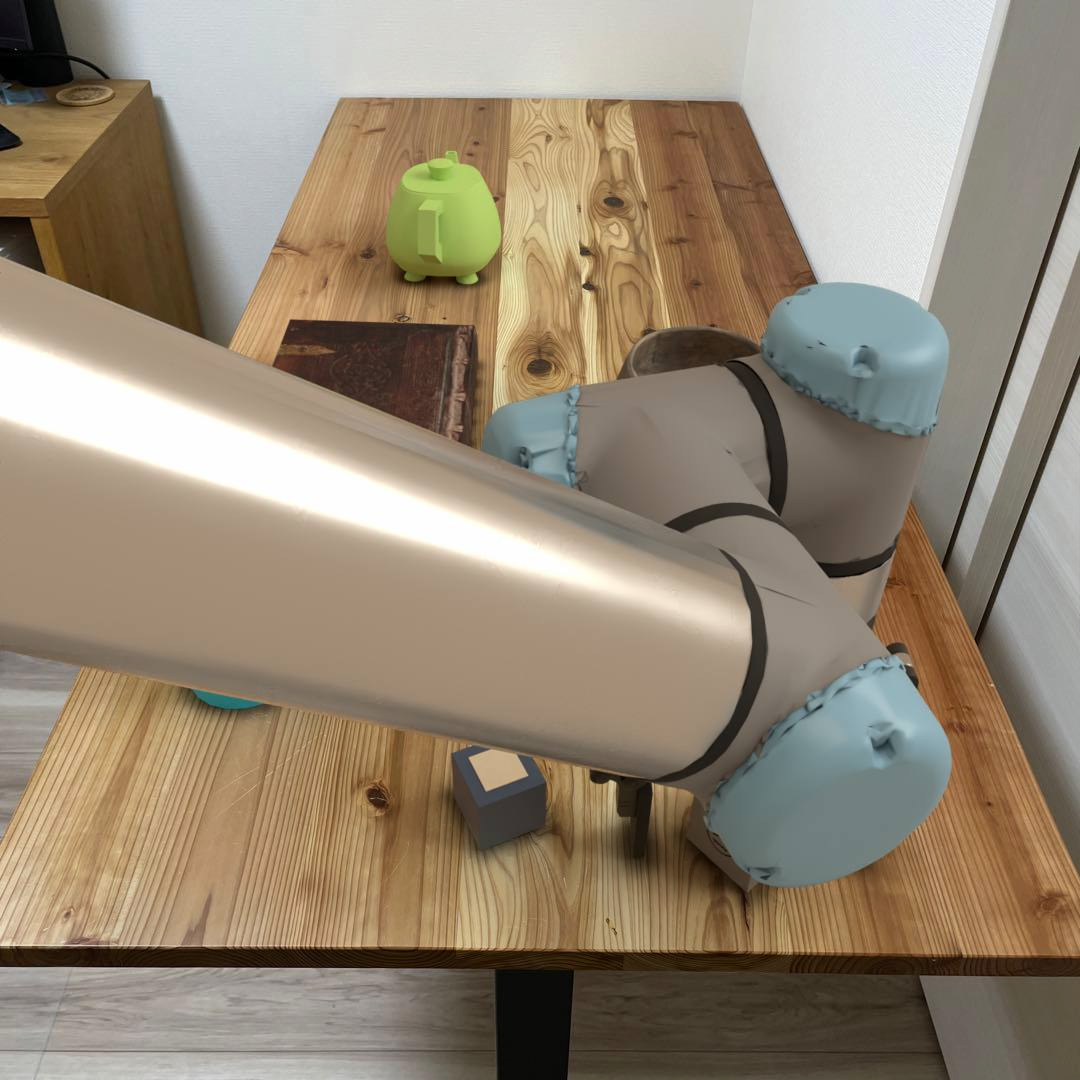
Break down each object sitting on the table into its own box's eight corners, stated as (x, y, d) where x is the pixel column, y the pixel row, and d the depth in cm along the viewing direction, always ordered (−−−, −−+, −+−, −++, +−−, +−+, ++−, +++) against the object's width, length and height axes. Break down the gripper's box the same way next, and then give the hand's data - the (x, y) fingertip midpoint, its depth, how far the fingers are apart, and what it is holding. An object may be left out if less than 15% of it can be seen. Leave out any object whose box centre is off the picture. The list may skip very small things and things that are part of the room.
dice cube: (800, 847, 67) (814, 798, 64) (746, 892, 64) (758, 844, 61) (740, 795, 70) (750, 746, 66) (686, 837, 67) (695, 789, 64)
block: (480, 851, 66) (478, 807, 63) (453, 796, 69) (450, 751, 66) (545, 825, 68) (547, 781, 65) (516, 773, 71) (516, 728, 68)
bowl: (580, 440, 100) (585, 346, 94) (708, 393, 107) (720, 303, 100) (672, 519, 91) (684, 422, 85) (805, 464, 98) (825, 369, 91)
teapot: (405, 227, 136) (398, 127, 128) (510, 233, 135) (510, 132, 127) (372, 301, 121) (361, 193, 112) (490, 308, 120) (488, 199, 112)
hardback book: (460, 548, 88) (458, 500, 85) (233, 545, 88) (222, 497, 85) (478, 365, 110) (477, 321, 107) (296, 362, 110) (290, 319, 107)
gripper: (1024, 543, 56) (926, 790, 70) (550, 541, 56) (546, 789, 70) (1079, 646, 50) (960, 894, 64) (552, 644, 50) (546, 893, 64)
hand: (744, 840), depth 67 cm, fingers open, 13 cm apart
